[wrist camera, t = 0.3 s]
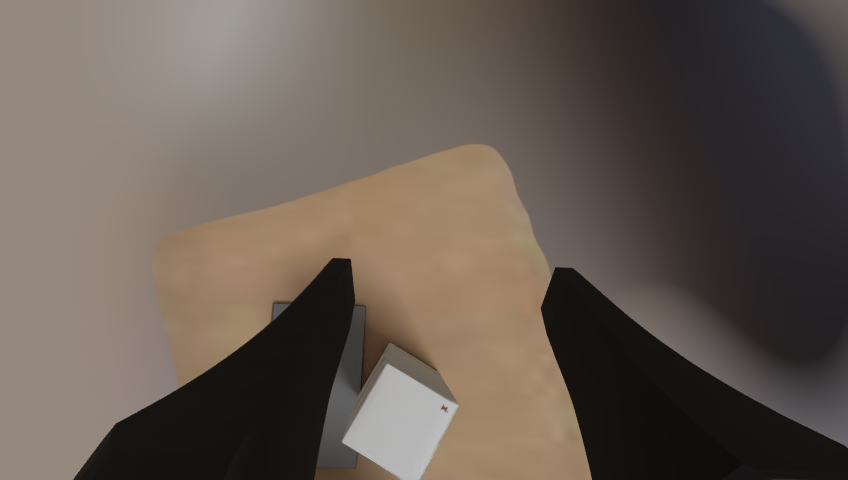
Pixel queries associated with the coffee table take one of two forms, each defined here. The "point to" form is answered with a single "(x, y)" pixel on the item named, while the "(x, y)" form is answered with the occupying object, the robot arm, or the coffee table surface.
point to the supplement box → (400, 414)
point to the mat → (341, 395)
